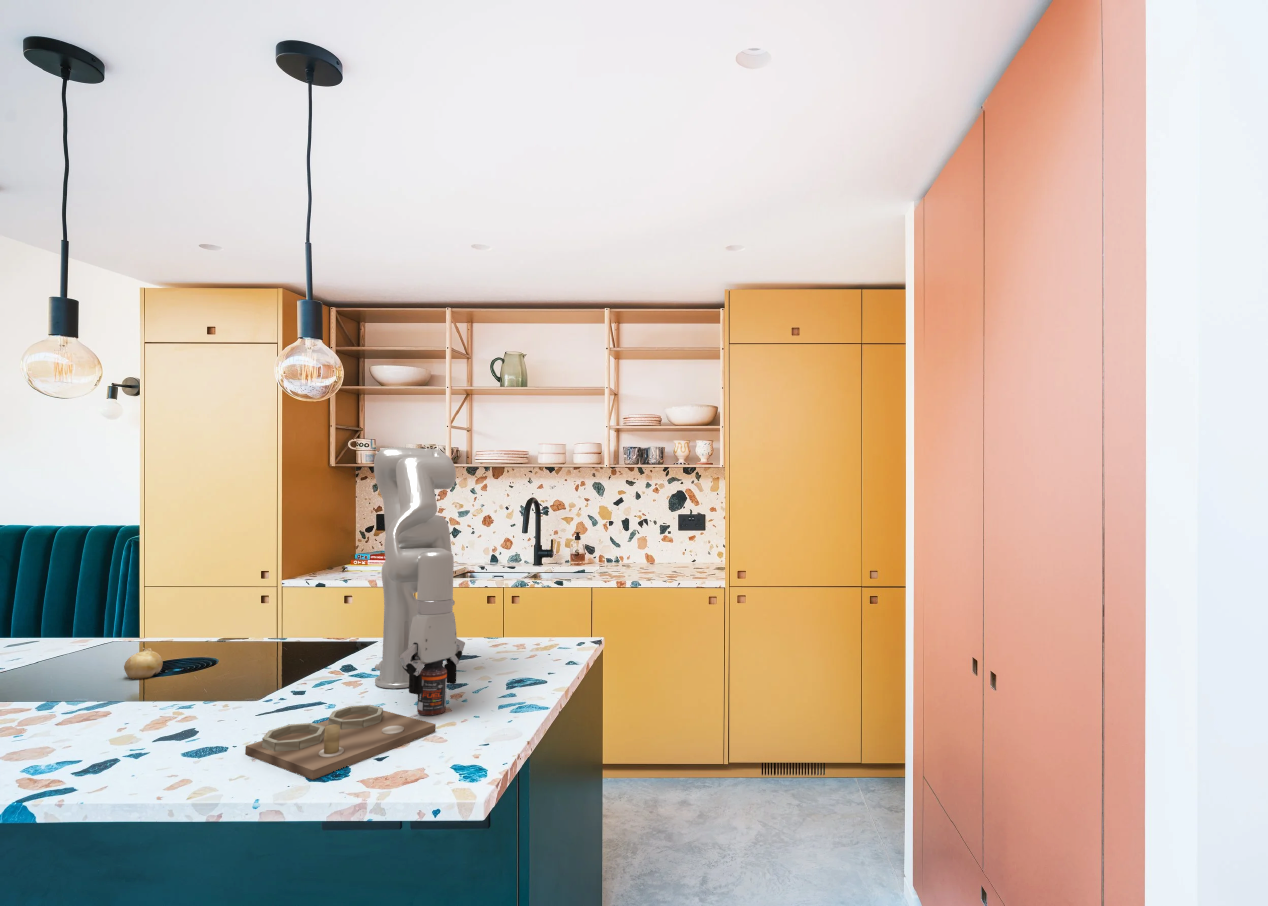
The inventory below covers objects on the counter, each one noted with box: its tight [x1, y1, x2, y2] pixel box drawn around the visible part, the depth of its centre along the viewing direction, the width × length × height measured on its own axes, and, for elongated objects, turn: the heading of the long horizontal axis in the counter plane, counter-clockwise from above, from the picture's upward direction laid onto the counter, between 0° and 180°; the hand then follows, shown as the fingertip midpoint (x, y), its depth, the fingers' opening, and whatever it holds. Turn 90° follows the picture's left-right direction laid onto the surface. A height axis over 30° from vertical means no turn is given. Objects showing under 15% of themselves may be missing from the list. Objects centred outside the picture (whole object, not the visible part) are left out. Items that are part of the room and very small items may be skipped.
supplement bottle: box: [416, 660, 448, 717], centre depth 141 cm, size 6×6×11 cm
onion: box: [123, 647, 164, 680], centre depth 166 cm, size 8×8×7 cm
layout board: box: [244, 704, 437, 780], centre depth 123 cm, size 20×26×6 cm
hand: (433, 688), depth 141 cm, fingers open, 9 cm apart
